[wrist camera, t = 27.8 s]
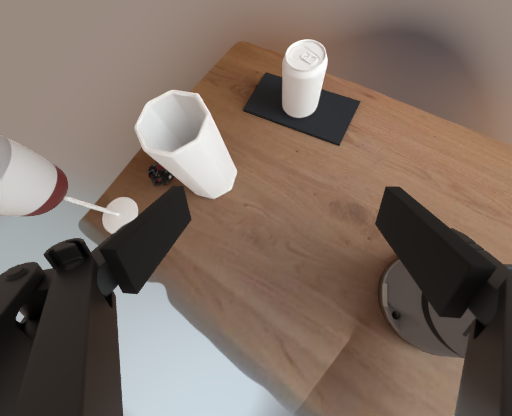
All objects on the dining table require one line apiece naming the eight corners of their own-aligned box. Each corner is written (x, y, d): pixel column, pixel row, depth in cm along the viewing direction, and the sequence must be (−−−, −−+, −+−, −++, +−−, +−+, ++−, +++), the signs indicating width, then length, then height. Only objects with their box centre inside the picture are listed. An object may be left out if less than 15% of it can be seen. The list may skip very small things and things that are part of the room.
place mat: (359, 103, 47) (360, 101, 46) (339, 145, 44) (339, 144, 44) (265, 74, 52) (265, 72, 52) (243, 111, 50) (243, 109, 49)
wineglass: (148, 208, 46) (26, 155, 24) (117, 245, 44) (-44, 225, 22) (122, 187, 48) (-12, 121, 26) (92, 221, 47) (-77, 182, 25)
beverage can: (298, 85, 49) (303, 30, 38) (324, 103, 47) (339, 50, 36) (274, 106, 48) (273, 57, 37) (300, 126, 46) (307, 79, 35)
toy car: (193, 149, 49) (186, 138, 45) (165, 191, 46) (155, 185, 42) (173, 140, 50) (164, 129, 46) (145, 181, 48) (133, 173, 44)
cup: (179, 181, 47) (117, 129, 29) (211, 145, 48) (171, 76, 31) (214, 209, 44) (170, 171, 26) (247, 170, 45) (226, 110, 28)
